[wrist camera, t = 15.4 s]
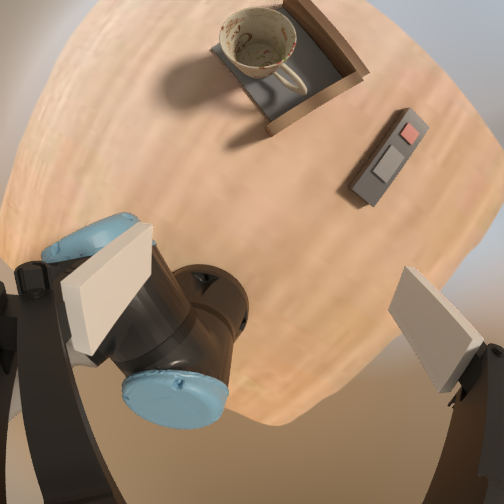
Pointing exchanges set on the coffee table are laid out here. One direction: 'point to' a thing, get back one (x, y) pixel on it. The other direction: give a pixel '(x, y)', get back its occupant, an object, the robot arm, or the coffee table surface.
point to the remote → (389, 157)
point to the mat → (301, 62)
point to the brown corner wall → (336, 52)
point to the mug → (261, 44)
